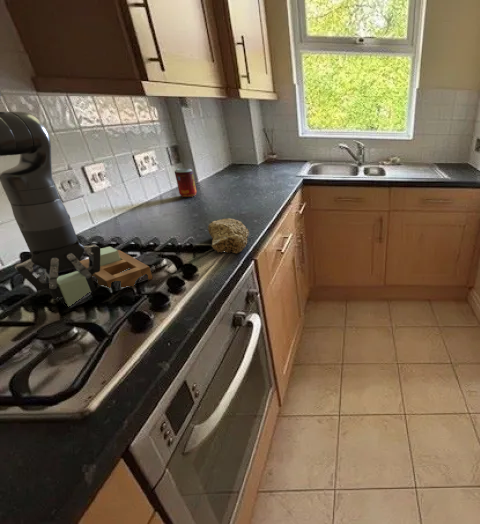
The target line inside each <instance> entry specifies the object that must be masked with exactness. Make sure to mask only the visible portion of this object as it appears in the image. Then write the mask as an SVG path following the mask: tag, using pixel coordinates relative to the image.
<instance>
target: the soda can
mask: <svg viewBox="0 0 480 524" xmlns="http://www.w3.org/2000/svg"><path fill="white" fill-rule="evenodd" d="M174 175H175V179H176V184H177V189H178V193H179V195H180V196H181V198H183V197H192V198H194V197H193V196H195V195H196V196H197V192H198V191H197V186H196V181H195V176H194V171H193V169H191V168H189V167H180V168H179V167H178V168H176V169H175V170H174ZM196 196H195V197H196Z"/></svg>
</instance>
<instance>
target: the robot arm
mask: <svg viewBox="0 0 480 524" xmlns="http://www.w3.org/2000/svg"><path fill="white" fill-rule="evenodd" d="M1 93H2V92H1V91H0V98H1V97H2V94H1ZM17 155H18V156H19V161H18V163H17V164H16V165H15V166H13V167H11V168H7V169H5V170H3V171H1V172H0V184H1V186H2V189H3V191H4V194H5V196H6V198H7V200H8V202H9V204H10V207H11V210H12V215H13V218H14V220H15V222H16V224H17V226H18V228H19V230H20V233H21V236H22V237H23V239H24V241H25V244H26V245H27V248H28V250H29V259H27V260H25V261H23V262H21V263H20V262H17V263H14V264H13V269H15V270H16V272H18V273H19V274H20V275H21V276H22V277H24V279H25V280H26V281H28V282H29V283H30V284H31V285H32V286H33V287H34V288H35V289H36V290H38V291H43V290H48V291H49V293H50V295H51V297H52V299H53V300H54V299H56V298H57V297H63V295H62V293H61V290H60V288H59V287H58V286H57V278H58V277H59V273H60V272H63V271H65V270H68V269H75V270H76V271H78V272H79V273H80V274H82V275H83V276H85V278H86V280H87V283H88V285H89V288H90V290H91V291H92V290H93V289H94V290H96V285H95V282H93V279H92V275H93V274H94V273H97V272H99V271H100V249H101V247H99V246H98V245H97V244H94V243H91V244H89V245H83V244H82V243H80V241H79V239H78V236H77V234H76V231H75V228H74V226H73V222H72V221H71V216H70V214H69V213H68V210H67V208H66V206H65V204H64V202H63V201H62V199H61V197H60V194H59V191H58V189H57V186H56V183H55V181H54V178H53V167H52V142H51V137H50V133H49V131H48V130H47V128H46V126H45V125H44V123H43V122H42V121H41V120H40V119H38V117H36V116H35V115H33V114H31V113H29V112H25V111H0V157H10V156H11V157H12V156H17ZM84 252H85V253H86V255H88V258H89V267H88V268H87V269H86V268H85V267H84V266H83V264H82V263H81V262H80V261H81V259H82V257H83V255H84ZM34 265H36V266H38V267H41V268H42V269H44V279H45V280H42V281H40V280H39V278H37V277H36V276H35V275H34V274H33V272H34V271H35V270H34V269H35V268H34ZM94 290H93V291H94ZM64 302H65V299H64V297H63V298H62V301H61V303H60V304H64Z"/></svg>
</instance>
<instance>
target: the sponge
mask: <svg viewBox="0 0 480 524" xmlns="http://www.w3.org/2000/svg"><path fill="white" fill-rule="evenodd" d="M207 230H208V234H209V235H210V236H211V238H212V240H211V247H212V249H213V250H215V251H216V252H217V253H219V252H220V253H222V252H223V251H225V252H227V253H226V254H231V253H234V254H239V253H241V252H242V251H243V250H245V248H246V247H247V245H248V238H249V236H250V231H249V229H248V228H247V227H246V226H245V224H243V222H242V221H240V220H238V219H234V218H222V219H218V220H212V221H211V222H210V223H208V225H207Z"/></svg>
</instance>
